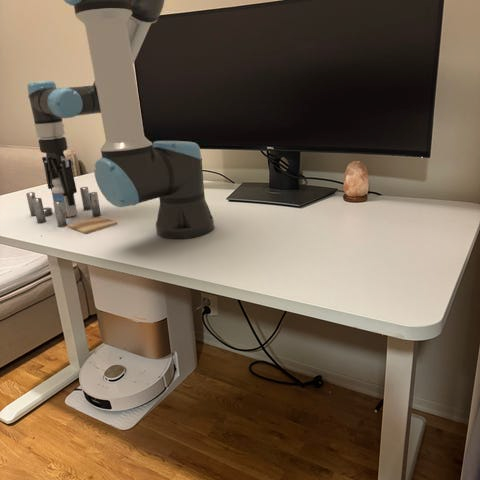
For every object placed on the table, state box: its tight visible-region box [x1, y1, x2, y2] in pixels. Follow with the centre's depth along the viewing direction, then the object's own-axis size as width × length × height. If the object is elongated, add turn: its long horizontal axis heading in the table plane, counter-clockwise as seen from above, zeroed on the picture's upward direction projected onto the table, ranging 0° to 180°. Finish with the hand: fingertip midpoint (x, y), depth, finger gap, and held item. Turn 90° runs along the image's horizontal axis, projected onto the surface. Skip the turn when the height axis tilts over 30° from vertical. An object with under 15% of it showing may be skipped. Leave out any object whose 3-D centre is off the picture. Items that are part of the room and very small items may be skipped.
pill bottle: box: [51, 178, 78, 218], centre depth 141 cm, size 6×6×11 cm
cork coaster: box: [66, 216, 119, 235], centre depth 131 cm, size 10×10×1 cm
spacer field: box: [26, 186, 102, 228], centre depth 141 cm, size 20×17×7 cm
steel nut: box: [43, 207, 53, 218], centre depth 144 cm, size 4×4×2 cm
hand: (66, 213), depth 143 cm, fingers closed on pill bottle, 6 cm apart
